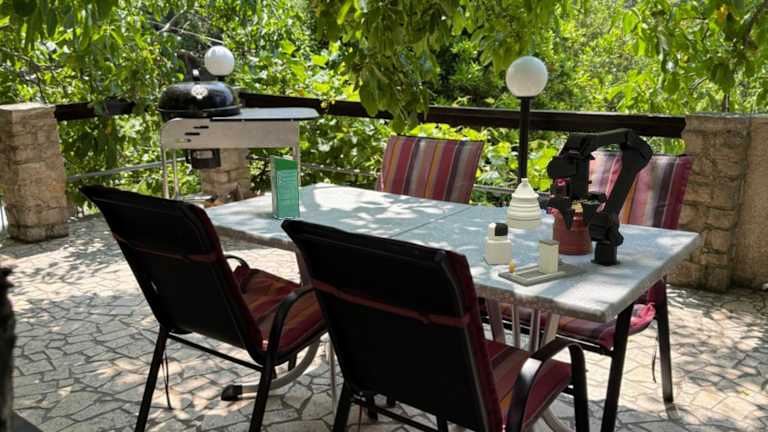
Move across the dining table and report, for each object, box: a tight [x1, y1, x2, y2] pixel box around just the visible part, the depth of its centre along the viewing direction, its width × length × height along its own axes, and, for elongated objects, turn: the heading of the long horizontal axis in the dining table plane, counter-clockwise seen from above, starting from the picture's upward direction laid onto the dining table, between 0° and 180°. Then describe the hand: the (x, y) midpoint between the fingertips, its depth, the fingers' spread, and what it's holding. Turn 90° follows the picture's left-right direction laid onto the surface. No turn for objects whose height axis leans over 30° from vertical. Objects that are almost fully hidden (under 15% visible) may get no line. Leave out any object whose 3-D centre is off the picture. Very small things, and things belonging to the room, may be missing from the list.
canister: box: [551, 200, 594, 256], centre depth 237 cm, size 13×13×18 cm
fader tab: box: [538, 238, 560, 274], centre depth 212 cm, size 3×5×10 cm
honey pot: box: [505, 178, 543, 231], centre depth 272 cm, size 13×13×18 cm
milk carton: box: [269, 154, 301, 220], centre depth 292 cm, size 9×9×25 cm
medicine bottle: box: [484, 222, 513, 265], centre depth 227 cm, size 7×7×12 cm
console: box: [497, 257, 589, 288], centre depth 214 cm, size 24×12×4 cm, turn 122°
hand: (576, 228), depth 216 cm, fingers open, 6 cm apart
